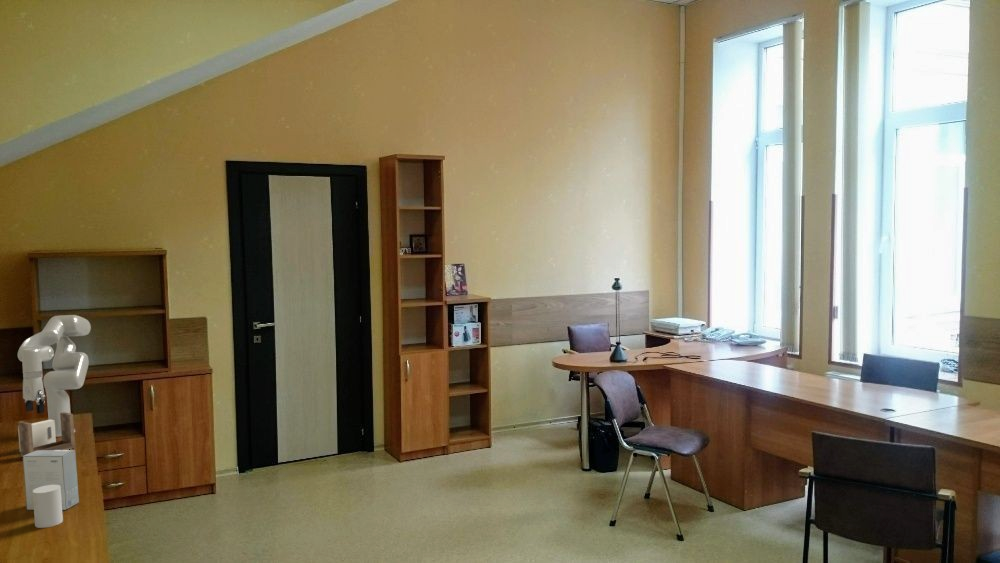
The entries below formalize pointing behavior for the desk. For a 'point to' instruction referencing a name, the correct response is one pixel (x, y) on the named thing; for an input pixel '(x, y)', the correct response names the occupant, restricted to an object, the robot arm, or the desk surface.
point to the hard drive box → (51, 474)
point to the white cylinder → (47, 506)
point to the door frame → (65, 444)
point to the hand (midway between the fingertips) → (35, 411)
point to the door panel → (42, 433)
